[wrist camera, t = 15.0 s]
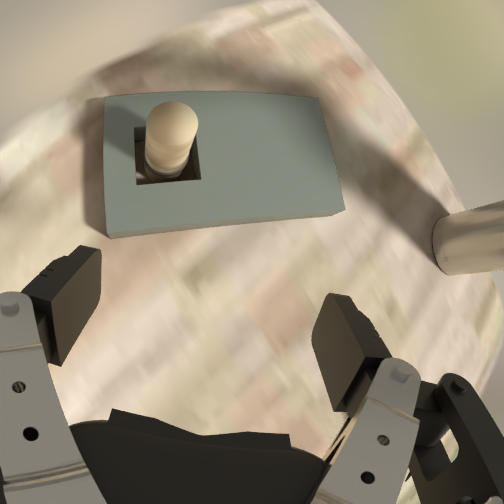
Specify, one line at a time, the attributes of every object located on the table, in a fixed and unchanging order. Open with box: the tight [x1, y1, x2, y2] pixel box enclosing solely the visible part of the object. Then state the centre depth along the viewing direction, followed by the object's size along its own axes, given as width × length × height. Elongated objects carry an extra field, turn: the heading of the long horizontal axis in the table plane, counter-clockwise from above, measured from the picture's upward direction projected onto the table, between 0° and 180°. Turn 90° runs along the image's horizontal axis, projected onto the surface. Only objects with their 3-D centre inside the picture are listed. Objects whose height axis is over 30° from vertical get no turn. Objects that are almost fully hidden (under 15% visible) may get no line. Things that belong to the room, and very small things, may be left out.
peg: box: [143, 101, 198, 183], centre depth 27 cm, size 4×4×9 cm
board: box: [103, 91, 345, 239], centre depth 31 cm, size 24×14×3 cm, turn 99°
